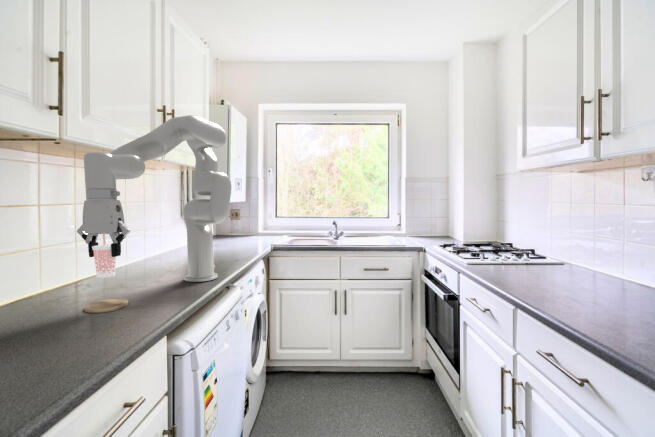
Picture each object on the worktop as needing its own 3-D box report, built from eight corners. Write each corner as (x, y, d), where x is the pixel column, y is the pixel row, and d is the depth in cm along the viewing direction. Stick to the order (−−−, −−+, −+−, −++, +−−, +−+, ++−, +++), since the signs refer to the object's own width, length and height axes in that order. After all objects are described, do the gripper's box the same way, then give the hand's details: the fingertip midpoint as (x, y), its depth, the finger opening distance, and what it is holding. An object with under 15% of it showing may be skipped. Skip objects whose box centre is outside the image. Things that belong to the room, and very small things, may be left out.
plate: (102, 301, 108) (102, 298, 107) (136, 301, 107) (136, 298, 107) (75, 312, 97) (74, 309, 97) (112, 313, 96) (112, 309, 96)
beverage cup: (123, 273, 104) (120, 227, 103) (106, 278, 98) (103, 230, 97) (106, 273, 105) (103, 227, 104) (88, 277, 99) (85, 229, 98)
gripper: (138, 195, 103) (141, 253, 104) (82, 195, 104) (86, 254, 105) (122, 195, 96) (125, 258, 97) (62, 195, 96) (66, 258, 98)
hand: (105, 255), depth 101 cm, fingers closed on beverage cup, 6 cm apart
